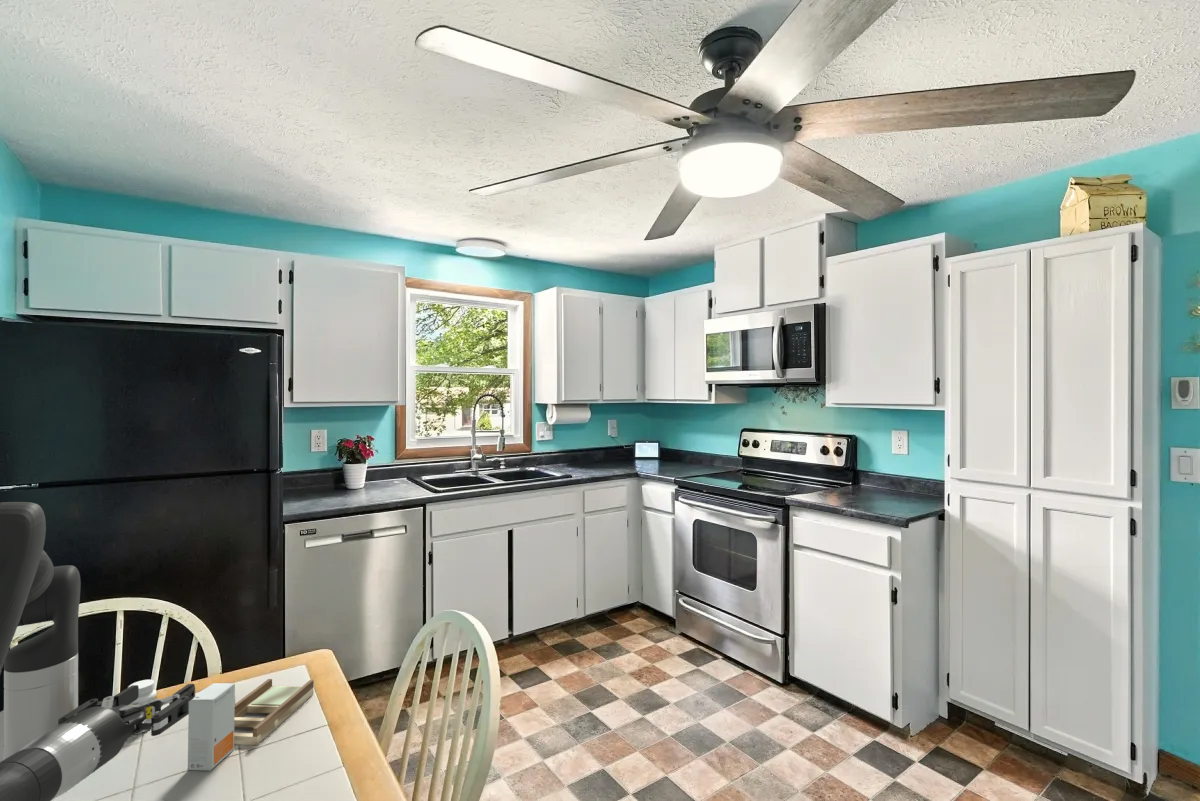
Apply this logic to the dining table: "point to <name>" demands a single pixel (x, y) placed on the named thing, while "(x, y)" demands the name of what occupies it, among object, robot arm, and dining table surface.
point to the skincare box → (211, 726)
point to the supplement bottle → (145, 695)
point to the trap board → (266, 710)
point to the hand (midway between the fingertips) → (164, 690)
